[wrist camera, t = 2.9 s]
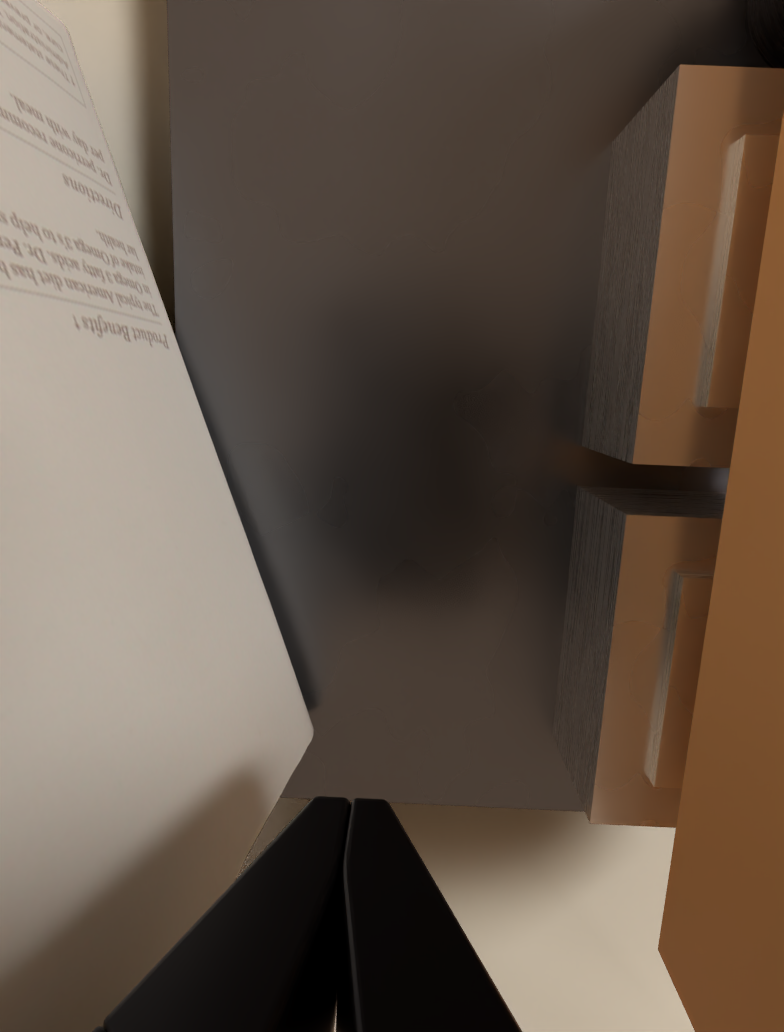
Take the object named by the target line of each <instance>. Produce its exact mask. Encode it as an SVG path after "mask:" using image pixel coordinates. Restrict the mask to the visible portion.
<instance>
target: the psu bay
mask: <svg viewBox="0 0 784 1032" xmlns="http://www.w3.org/2000/svg"><path fill="white" fill-rule="evenodd" d="M167 16H168V55H169V94H170V133H171V172H172V211H173V250H174V289H175V328H176V341H177V344H178V347H179V349H180V352H181V355H182V358H183V361H184V364H185V366H186V369H187V372H188V375H189V378H190V381H191V384H192V386H193V389H194V392H195V395H196V398H197V401H198V403H199V406H200V409H201V412H202V415H203V417H204V420H205V423H206V426H207V428H208V431H209V434H210V437H211V440H212V442H213V445H214V448H215V451H216V453H217V456H218V459H219V462H220V464H221V467H222V470H223V473H224V476H225V478H226V481H227V484H228V487H229V489H230V492H231V495H232V498H233V500H234V503H235V506H236V509H237V512H238V514H239V517H240V520H241V523H242V525H243V528H244V531H245V534H246V536H247V539H248V542H249V545H250V548H251V551H252V554H253V556H254V559H255V562H256V565H257V568H258V571H259V573H260V576H261V579H262V582H263V584H264V587H265V590H266V593H267V595H268V598H269V601H270V603H271V606H272V609H273V612H274V615H275V618H276V621H277V624H278V627H279V629H280V632H281V635H282V638H283V641H284V644H285V647H286V649H287V652H288V655H289V658H290V661H291V664H292V667H293V670H294V672H295V675H296V678H297V681H298V684H299V687H300V690H301V693H302V696H303V699H304V702H305V705H306V708H307V711H308V714H309V717H310V720H311V723H312V726H313V729H314V731H313V737H312V740H311V742H310V744H309V745H308V747H307V749H306V751H305V753H304V754H303V756H302V758H301V760H300V762H299V763H298V765H297V767H296V768H295V770H294V771H293V773H292V775H291V777H290V779H289V780H288V782H287V784H286V786H285V788H284V790H283V792H282V793H281V795H280V797H285V798H306V799H313V798H314V797H316V796H327V797H345V798H347V799H348V800H349V801H353V800H354V799H355V798H370V799H385V800H386V801H387V802H391V803H412V804H433V805H455V806H476V807H497V808H519V809H540V810H561V811H582V812H585V813H586V816H587V818H588V820H589V823H590V824H610V825H631V826H652V827H674V828H676V825H677V819H678V812H679V805H680V799H681V792H682V785H683V779H684V772H685V765H686V759H687V752H688V745H689V739H690V732H691V725H692V719H693V712H694V705H695V699H696V692H697V685H698V678H699V672H700V665H701V658H702V652H703V645H704V638H705V632H706V625H707V618H708V612H709V605H710V598H711V592H712V585H713V578H714V572H715V565H716V558H717V552H718V545H719V538H720V532H721V525H722V518H723V512H724V505H725V498H726V492H727V485H728V478H729V472H730V465H731V458H732V452H733V445H734V438H735V432H736V425H737V418H738V412H739V405H740V398H741V392H742V385H743V378H744V372H745V365H746V358H747V351H748V345H749V338H750V331H751V325H752V318H753V311H754V305H755V298H756V291H757V285H758V278H759V271H760V265H761V258H762V251H763V245H764V238H765V231H766V225H767V218H768V211H769V205H770V198H771V191H772V185H773V178H774V171H775V165H776V158H777V151H778V145H779V138H780V131H781V125H782V118H783V111H784V0H167Z"/></svg>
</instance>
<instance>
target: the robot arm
mask: <svg viewBox="0 0 784 1032" xmlns="http://www.w3.org/2000/svg"><path fill="white" fill-rule="evenodd" d="M336 1008H337V1016H336ZM335 1017H336V1032H522V1030H521V1029H520V1027H519V1025H518V1024H517V1022H516V1020H515V1018H514V1017H513V1015H512V1013H511V1012H510V1010H509V1008H508V1006H507V1005H506V1003H505V1001H504V1000H503V998H502V996H501V994H500V993H499V991H498V989H497V988H496V986H495V984H494V982H493V981H492V979H491V977H490V976H489V974H488V972H487V970H486V969H485V967H484V965H483V964H482V962H481V960H480V958H479V957H478V955H477V953H476V952H475V950H474V948H473V946H472V945H471V943H470V941H469V940H468V938H467V936H466V934H465V933H464V931H463V929H462V928H461V926H460V924H459V922H458V921H457V919H456V917H455V916H454V914H453V912H452V910H451V909H450V907H449V905H448V904H447V902H446V900H445V898H444V897H443V895H442V893H441V892H440V890H439V888H438V886H437V885H436V883H435V881H434V880H433V878H432V876H431V874H430V873H429V871H428V869H427V868H426V866H425V864H424V862H423V861H422V859H421V857H420V856H419V854H418V852H417V850H416V849H415V847H414V845H413V844H412V842H411V840H410V838H409V837H408V835H407V833H406V832H405V830H404V828H403V826H402V825H401V823H400V821H399V820H398V818H397V816H396V814H395V813H394V811H393V809H392V808H391V806H390V804H389V803H388V802H387V801H386V800H385V799H370V798H355V799H354V800H353V801H352V802H351V805H350V801H349V800H348V799H347V798H345V797H327V796H316V797H314V798H313V799H312V800H311V801H310V802H309V803H308V804H307V805H306V806H305V807H304V808H303V809H302V810H301V811H300V812H299V813H298V814H297V816H296V817H295V818H294V819H293V820H292V821H291V822H290V823H289V824H288V825H287V826H286V827H285V828H284V829H283V830H282V831H281V832H280V834H279V835H278V836H277V837H276V838H275V839H274V840H273V841H272V842H271V843H270V844H269V845H268V846H267V847H266V848H265V849H264V850H263V852H262V853H261V854H260V855H259V856H258V857H257V858H256V859H255V860H254V861H253V862H252V863H251V864H250V865H249V866H248V867H247V868H246V870H245V871H244V872H243V873H242V874H241V875H240V876H239V877H238V878H237V879H236V880H235V881H234V882H233V883H232V884H231V885H230V886H229V888H228V889H227V890H226V891H225V892H224V893H223V894H222V895H221V896H220V897H219V898H218V899H217V900H216V901H215V902H214V903H213V904H212V906H211V907H210V908H209V909H208V910H207V911H206V912H205V913H204V914H203V915H202V916H201V917H200V918H199V919H198V920H197V921H196V922H195V924H194V925H193V926H192V927H191V928H190V929H189V930H188V931H187V932H186V933H185V934H184V935H183V936H182V937H181V938H180V939H179V940H178V942H177V943H176V944H175V945H174V946H173V947H172V948H171V949H170V950H169V951H168V952H167V953H166V954H165V955H164V956H163V957H162V958H161V960H160V961H159V962H158V963H157V964H156V965H155V966H154V967H153V968H152V969H151V970H150V971H149V972H148V973H147V974H146V975H145V976H144V978H143V979H142V980H141V981H140V982H139V983H138V984H137V985H136V986H135V987H134V988H133V989H132V990H131V991H130V992H129V993H128V994H127V996H126V997H125V998H124V999H123V1000H122V1001H121V1002H120V1003H119V1004H118V1005H117V1006H116V1007H115V1008H114V1009H113V1010H112V1011H111V1012H110V1014H109V1015H108V1016H107V1017H106V1018H105V1020H104V1022H103V1027H102V1026H98V1027H96V1028H95V1029H94V1030H93V1031H92V1032H334V1025H335Z"/></svg>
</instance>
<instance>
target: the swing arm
mask: <svg viewBox="0 0 784 1032" xmlns="http://www.w3.org/2000/svg"><path fill="white" fill-rule="evenodd" d="M658 951H659V953H660V955H661V957H662V959H663V962H664V964H665V966H666V968H667V970H668V973H669V975H670V977H671V979H672V982H673V984H674V986H675V988H676V990H677V993H678V995H679V997H680V999H681V1001H682V1004H683V1006H684V1008H685V1010H686V1012H687V1015H688V1017H689V1019H690V1021H691V1024H692V1026H693V1028H694V1030H695V1032H784V111H783V118H782V125H781V131H780V138H779V145H778V151H777V158H776V165H775V171H774V178H773V185H772V191H771V198H770V205H769V211H768V218H767V225H766V231H765V238H764V245H763V251H762V258H761V265H760V271H759V278H758V285H757V291H756V298H755V305H754V311H753V318H752V325H751V331H750V338H749V345H748V351H747V358H746V365H745V372H744V378H743V385H742V392H741V398H740V405H739V412H738V418H737V425H736V432H735V438H734V445H733V452H732V458H731V465H730V472H729V478H728V485H727V492H726V498H725V505H724V512H723V518H722V525H721V532H720V538H719V545H718V552H717V558H716V565H715V572H714V578H713V585H712V592H711V598H710V605H709V612H708V618H707V625H706V632H705V638H704V645H703V652H702V658H701V665H700V672H699V678H698V685H697V692H696V699H695V705H694V712H693V719H692V725H691V732H690V739H689V745H688V752H687V759H686V765H685V772H684V779H683V785H682V792H681V799H680V805H679V812H678V819H677V825H676V832H675V839H674V845H673V852H672V859H671V865H670V872H669V879H668V885H667V892H666V899H665V905H664V912H663V919H662V925H661V932H660V939H659V945H658Z"/></svg>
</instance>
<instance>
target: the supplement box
mask: <svg viewBox="0 0 784 1032" xmlns="http://www.w3.org/2000/svg"><path fill="white" fill-rule="evenodd" d="M313 731H314V729H313V726H312V723H311V720H310V717H309V714H308V711H307V708H306V705H305V702H304V699H303V696H302V693H301V690H300V687H299V684H298V681H297V678H296V675H295V672H294V670H293V667H292V664H291V661H290V658H289V655H288V652H287V649H286V647H285V644H284V641H283V638H282V635H281V632H280V629H279V627H278V624H277V621H276V618H275V615H274V612H273V609H272V606H271V603H270V601H269V598H268V595H267V593H266V590H265V587H264V584H263V582H262V579H261V576H260V573H259V571H258V568H257V565H256V562H255V559H254V556H253V554H252V551H251V548H250V545H249V542H248V539H247V536H246V534H245V531H244V528H243V525H242V523H241V520H240V517H239V514H238V512H237V509H236V506H235V503H234V500H233V498H232V495H231V492H230V489H229V487H228V484H227V481H226V478H225V476H224V473H223V470H222V467H221V464H220V462H219V459H218V456H217V453H216V451H215V448H214V445H213V442H212V440H211V437H210V434H209V431H208V428H207V426H206V423H205V420H204V417H203V415H202V412H201V409H200V406H199V403H198V401H197V398H196V395H195V392H194V389H193V386H192V384H191V381H190V378H189V375H188V372H187V369H186V366H185V364H184V361H183V358H182V355H181V352H180V349H179V347H178V344H177V341H176V338H175V335H174V332H173V330H172V327H171V324H170V321H169V318H168V316H167V313H166V310H165V307H164V304H163V301H162V299H161V296H160V293H159V290H158V287H157V285H156V282H155V279H154V276H153V273H152V270H151V268H150V265H149V262H148V259H147V256H146V254H145V251H144V248H143V245H142V243H141V240H140V237H139V234H138V232H137V229H136V226H135V223H134V220H133V218H132V215H131V212H130V209H129V206H128V203H127V200H126V196H125V193H124V190H123V187H122V184H121V181H120V178H119V175H118V172H117V169H116V167H115V164H114V161H113V158H112V155H111V153H110V150H109V147H108V144H107V141H106V138H105V136H104V133H103V130H102V127H101V124H100V122H99V119H98V116H97V113H96V110H95V108H94V105H93V102H92V99H91V96H90V93H89V90H88V88H87V85H86V82H85V79H84V77H83V74H82V71H81V68H80V65H79V62H78V59H77V56H76V53H75V50H74V46H73V43H72V40H71V37H70V34H69V32H68V30H67V28H66V26H65V25H64V23H63V22H62V21H61V20H60V19H59V18H57V17H56V16H55V15H54V14H53V13H52V12H50V11H49V10H48V9H47V8H45V7H44V6H43V5H42V4H40V3H39V2H38V1H37V0H0V1032H92V1031H93V1030H94V1029H95V1028H96V1027H98V1026H102V1027H103V1022H104V1020H105V1018H106V1017H107V1016H108V1015H109V1014H110V1012H111V1011H112V1010H113V1009H114V1008H115V1007H116V1006H117V1005H118V1004H119V1003H120V1002H121V1001H122V1000H123V999H124V998H125V997H126V996H127V994H128V993H129V992H130V991H131V990H132V989H133V988H134V987H135V986H136V985H137V984H138V983H139V982H140V981H141V980H142V979H143V978H144V976H145V975H146V974H147V973H148V972H149V971H150V970H151V969H152V968H153V967H154V966H155V965H156V964H157V963H158V962H159V961H160V960H161V958H162V957H163V956H164V955H165V954H166V953H167V952H168V951H169V950H170V949H171V948H172V947H173V946H174V945H175V944H176V943H177V942H178V940H179V939H180V938H181V937H182V936H183V935H184V934H185V933H186V932H187V931H188V930H189V929H190V928H191V927H192V926H193V925H194V924H195V922H196V921H197V920H198V919H199V918H200V917H201V916H202V915H203V914H204V913H205V912H206V911H207V910H208V909H209V908H210V907H211V906H212V904H213V903H214V902H215V901H216V900H217V899H218V898H219V897H220V896H221V895H222V894H223V893H224V892H225V891H226V890H227V889H228V888H229V886H230V885H231V884H232V883H233V882H234V881H235V879H236V877H237V876H238V874H239V872H240V871H241V868H242V865H243V863H244V860H245V858H246V856H247V855H248V853H249V851H250V849H251V847H252V846H253V844H254V842H255V840H256V838H257V837H258V835H259V833H260V831H261V829H262V828H263V826H264V824H265V822H266V821H267V819H268V817H269V815H270V813H271V812H272V810H273V808H274V806H275V804H276V803H277V801H278V799H279V797H280V795H281V793H282V792H283V790H284V788H285V786H286V784H287V782H288V780H289V779H290V777H291V775H292V773H293V771H294V770H295V768H296V767H297V765H298V763H299V762H300V760H301V758H302V756H303V754H304V753H305V751H306V749H307V747H308V745H309V744H310V742H311V740H312V737H313Z"/></svg>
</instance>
